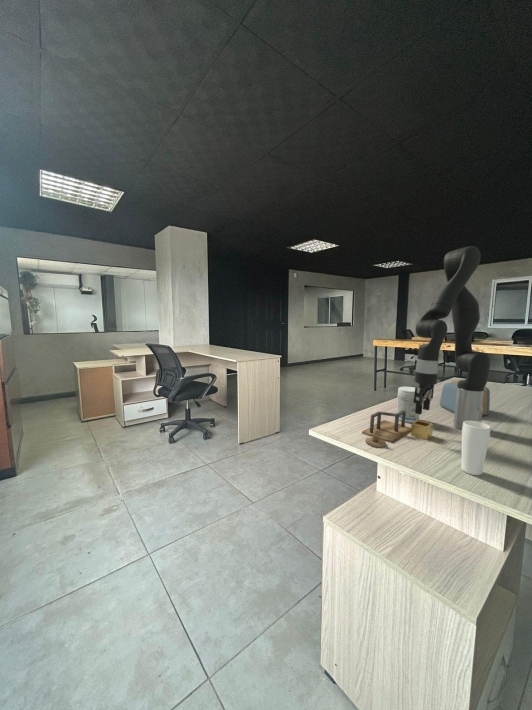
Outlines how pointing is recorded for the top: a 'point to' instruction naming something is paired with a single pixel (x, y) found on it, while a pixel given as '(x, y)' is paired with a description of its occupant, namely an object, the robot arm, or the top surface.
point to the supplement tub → (407, 404)
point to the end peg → (375, 440)
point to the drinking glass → (474, 446)
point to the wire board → (388, 426)
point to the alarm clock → (450, 397)
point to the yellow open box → (421, 429)
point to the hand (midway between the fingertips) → (422, 411)
